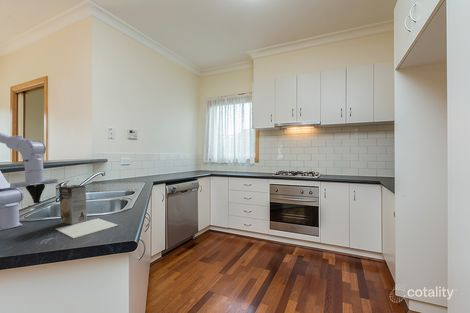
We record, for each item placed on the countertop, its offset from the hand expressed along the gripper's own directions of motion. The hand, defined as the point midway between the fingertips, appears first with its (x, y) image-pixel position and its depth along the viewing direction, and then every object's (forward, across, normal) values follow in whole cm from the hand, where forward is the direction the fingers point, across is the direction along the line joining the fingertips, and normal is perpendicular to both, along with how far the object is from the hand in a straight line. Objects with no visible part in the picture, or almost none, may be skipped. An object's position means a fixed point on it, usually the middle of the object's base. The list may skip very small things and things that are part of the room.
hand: (36, 202), depth 91 cm
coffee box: (+11, +11, -5) cm, 16 cm away
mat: (+11, +11, -18) cm, 24 cm away
